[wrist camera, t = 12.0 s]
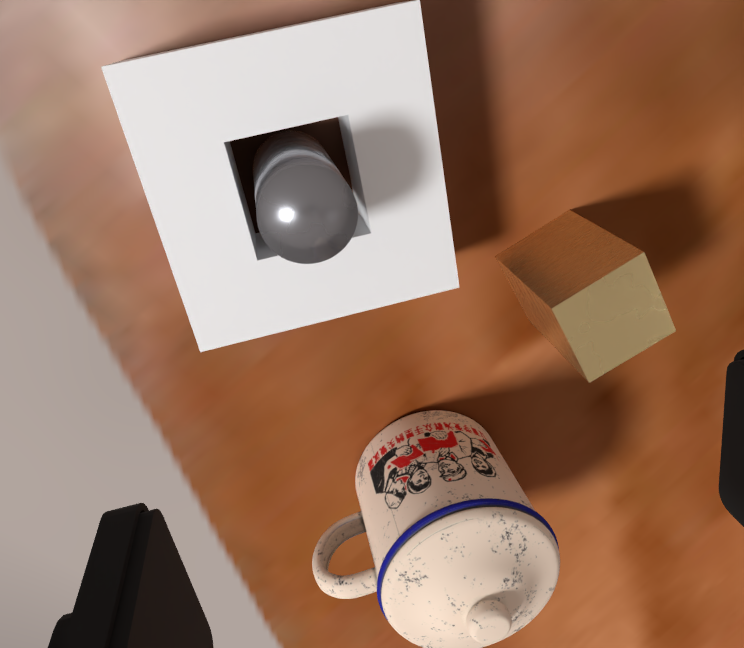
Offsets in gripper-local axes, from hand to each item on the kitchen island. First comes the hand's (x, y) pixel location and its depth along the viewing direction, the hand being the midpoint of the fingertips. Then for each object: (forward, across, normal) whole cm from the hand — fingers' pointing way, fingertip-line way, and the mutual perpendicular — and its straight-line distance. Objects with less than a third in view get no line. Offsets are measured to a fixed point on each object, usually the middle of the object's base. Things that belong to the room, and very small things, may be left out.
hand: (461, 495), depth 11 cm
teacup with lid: (+23, -1, +18) cm, 29 cm away
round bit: (+23, +1, -1) cm, 23 cm away
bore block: (+23, +1, -1) cm, 23 cm away
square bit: (+23, -11, +7) cm, 26 cm away
